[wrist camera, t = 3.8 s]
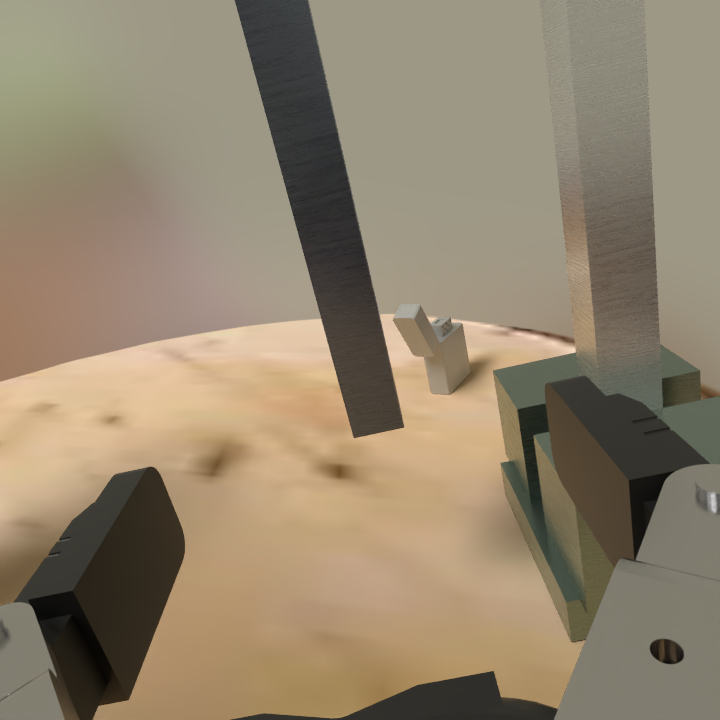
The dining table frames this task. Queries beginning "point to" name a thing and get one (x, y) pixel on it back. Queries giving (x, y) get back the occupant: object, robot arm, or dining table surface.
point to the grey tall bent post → (597, 291)
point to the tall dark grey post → (322, 204)
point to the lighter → (435, 347)
